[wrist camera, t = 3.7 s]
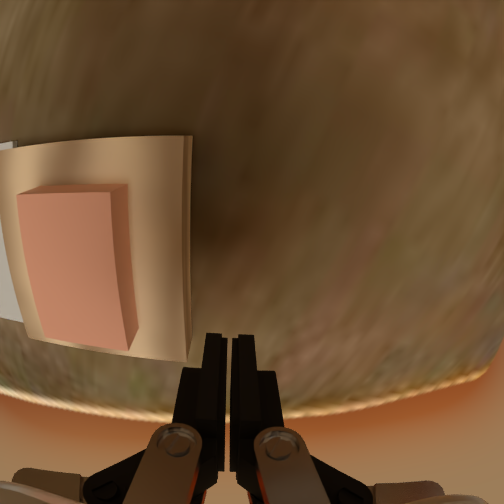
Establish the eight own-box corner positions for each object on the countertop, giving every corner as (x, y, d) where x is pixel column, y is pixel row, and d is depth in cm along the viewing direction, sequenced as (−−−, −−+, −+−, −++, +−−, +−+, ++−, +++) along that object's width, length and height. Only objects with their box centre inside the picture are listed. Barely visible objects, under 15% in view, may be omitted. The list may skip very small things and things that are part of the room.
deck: (192, 135, 17) (184, 135, 15) (192, 335, 22) (186, 362, 20) (21, 146, 17) (-5, 151, 14) (45, 317, 22) (28, 337, 19)
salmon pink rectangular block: (127, 183, 15) (110, 192, 13) (138, 328, 19) (128, 351, 16) (39, 186, 15) (16, 194, 13) (60, 317, 18) (45, 337, 16)
